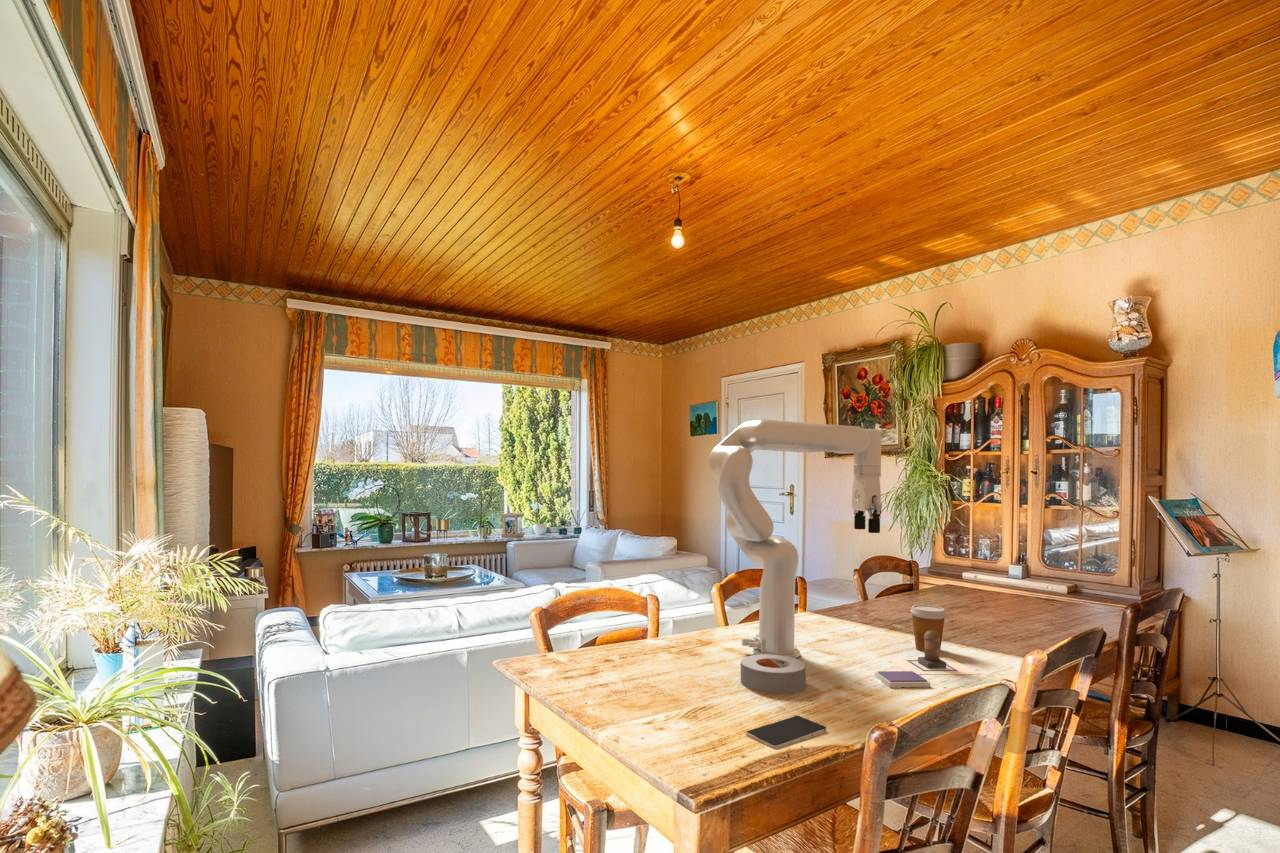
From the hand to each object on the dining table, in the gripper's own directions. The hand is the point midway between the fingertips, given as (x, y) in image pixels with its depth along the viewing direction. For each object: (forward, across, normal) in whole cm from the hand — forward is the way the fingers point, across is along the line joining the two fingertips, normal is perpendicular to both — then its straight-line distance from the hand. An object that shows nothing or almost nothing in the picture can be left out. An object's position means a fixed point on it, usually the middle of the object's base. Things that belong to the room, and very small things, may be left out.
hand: (866, 530), depth 198 cm
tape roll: (+34, +30, -36) cm, 58 cm away
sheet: (+33, +18, +10) cm, 39 cm away
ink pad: (+33, +30, -4) cm, 45 cm away
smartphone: (+34, +60, -42) cm, 80 cm away
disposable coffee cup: (+34, +3, +17) cm, 38 cm away
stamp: (+33, +18, +10) cm, 39 cm away
